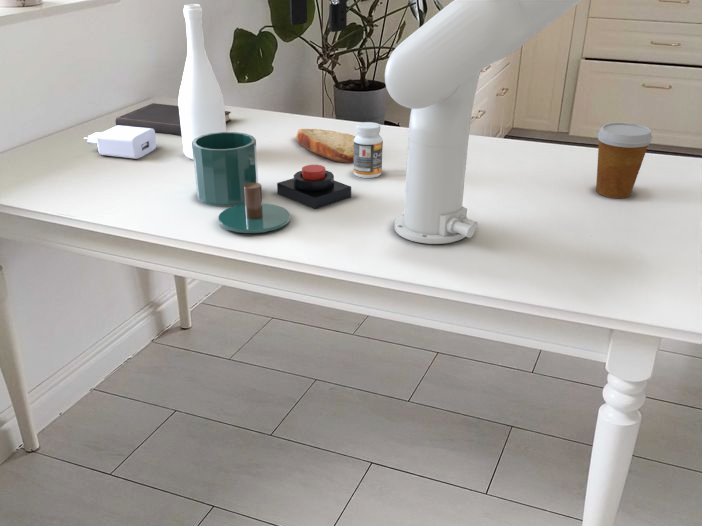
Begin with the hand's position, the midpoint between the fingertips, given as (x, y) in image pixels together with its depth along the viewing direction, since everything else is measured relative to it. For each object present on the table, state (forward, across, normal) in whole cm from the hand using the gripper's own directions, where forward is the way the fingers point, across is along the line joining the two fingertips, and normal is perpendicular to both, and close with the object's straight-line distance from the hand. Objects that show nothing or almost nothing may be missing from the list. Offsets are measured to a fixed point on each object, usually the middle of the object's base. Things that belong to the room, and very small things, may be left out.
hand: (317, 27), depth 122 cm
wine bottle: (+31, -39, +1) cm, 50 cm away
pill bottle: (+31, -6, +18) cm, 36 cm away
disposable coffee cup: (+31, +33, +45) cm, 64 cm away
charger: (+31, -55, -12) cm, 64 cm away
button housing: (+30, -4, +2) cm, 31 cm away
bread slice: (+31, -24, +23) cm, 45 cm away
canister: (+30, -15, -10) cm, 35 cm away
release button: (+27, -4, +2) cm, 27 cm away
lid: (+30, -1, -14) cm, 33 cm away
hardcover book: (+31, -65, +9) cm, 72 cm away
